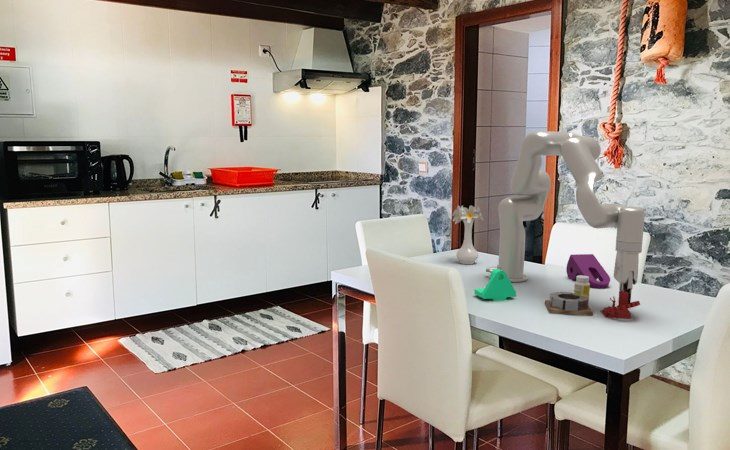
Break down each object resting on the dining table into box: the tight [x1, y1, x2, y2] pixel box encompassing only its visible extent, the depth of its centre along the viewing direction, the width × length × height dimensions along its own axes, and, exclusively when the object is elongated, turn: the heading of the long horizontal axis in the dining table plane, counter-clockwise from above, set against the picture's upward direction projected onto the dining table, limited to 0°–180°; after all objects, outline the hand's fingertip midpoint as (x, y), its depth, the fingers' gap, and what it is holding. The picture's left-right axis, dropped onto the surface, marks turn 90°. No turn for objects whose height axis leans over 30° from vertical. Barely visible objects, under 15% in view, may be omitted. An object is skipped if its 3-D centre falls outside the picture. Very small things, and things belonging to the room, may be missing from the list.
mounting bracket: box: [566, 253, 611, 289], centre depth 231 cm, size 10×8×18 cm
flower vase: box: [451, 205, 485, 265], centre depth 261 cm, size 13×18×25 cm
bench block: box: [544, 299, 594, 317], centre depth 194 cm, size 13×11×1 cm
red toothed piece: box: [599, 289, 641, 320], centre depth 188 cm, size 11×12×8 cm
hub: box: [548, 291, 590, 311], centre depth 194 cm, size 11×11×4 cm
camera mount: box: [474, 269, 517, 302], centre depth 207 cm, size 12×8×10 cm, turn 107°
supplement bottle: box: [573, 275, 591, 300], centre depth 204 cm, size 5×5×8 cm
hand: (624, 303), depth 193 cm, fingers closed
